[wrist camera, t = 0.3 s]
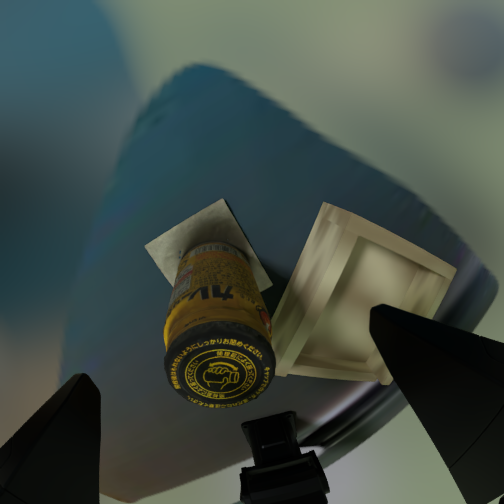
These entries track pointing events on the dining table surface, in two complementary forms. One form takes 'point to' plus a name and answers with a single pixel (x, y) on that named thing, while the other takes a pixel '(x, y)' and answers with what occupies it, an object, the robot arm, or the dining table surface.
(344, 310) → the tan square tray
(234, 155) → the dining table surface
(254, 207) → the dining table surface
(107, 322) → the dining table surface
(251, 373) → the condiment
